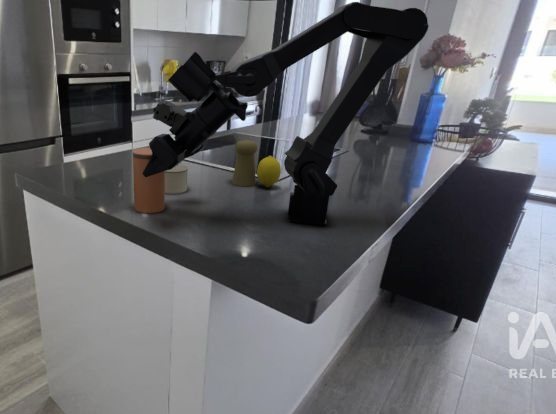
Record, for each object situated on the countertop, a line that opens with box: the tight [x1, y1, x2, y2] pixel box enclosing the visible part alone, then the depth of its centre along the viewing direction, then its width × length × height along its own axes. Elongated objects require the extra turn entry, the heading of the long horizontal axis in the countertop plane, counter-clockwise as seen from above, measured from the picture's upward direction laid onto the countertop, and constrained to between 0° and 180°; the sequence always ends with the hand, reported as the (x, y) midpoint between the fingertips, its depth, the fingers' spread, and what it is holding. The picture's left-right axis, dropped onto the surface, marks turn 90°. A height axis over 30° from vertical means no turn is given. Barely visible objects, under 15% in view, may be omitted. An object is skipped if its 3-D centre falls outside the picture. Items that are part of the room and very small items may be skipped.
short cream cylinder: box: [165, 164, 189, 195], centre depth 94 cm, size 7×7×6 cm
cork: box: [231, 139, 258, 187], centre depth 97 cm, size 6×6×11 cm
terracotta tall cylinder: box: [132, 147, 166, 214], centre depth 81 cm, size 7×7×12 cm
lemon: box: [256, 155, 282, 188], centre depth 94 cm, size 6×6×8 cm
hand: (153, 169), depth 80 cm, fingers open, 9 cm apart
